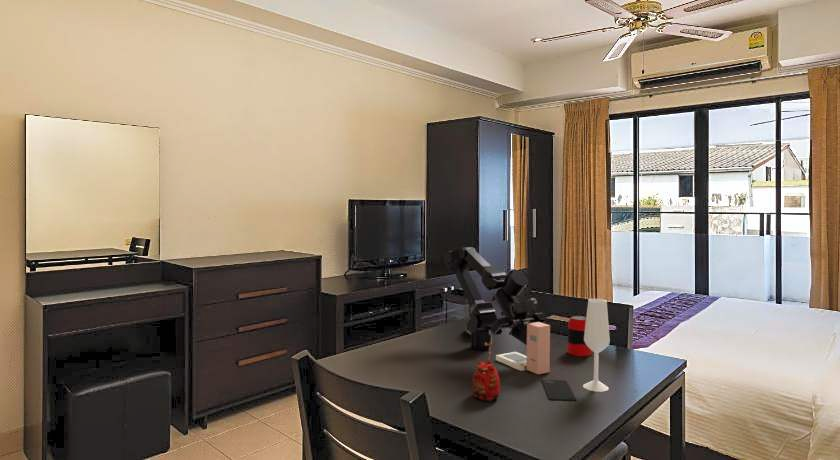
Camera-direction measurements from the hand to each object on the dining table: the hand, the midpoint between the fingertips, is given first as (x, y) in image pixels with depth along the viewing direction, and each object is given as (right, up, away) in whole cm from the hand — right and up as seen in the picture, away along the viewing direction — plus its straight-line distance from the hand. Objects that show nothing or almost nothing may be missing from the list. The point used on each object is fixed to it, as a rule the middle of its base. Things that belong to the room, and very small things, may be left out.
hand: (531, 347), depth 156 cm
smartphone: (+3, -8, -17) cm, 19 cm away
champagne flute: (+14, -8, -15) cm, 22 cm away
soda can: (+20, -6, +17) cm, 27 cm away
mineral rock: (-12, -5, +41) cm, 43 cm away
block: (+1, -7, -2) cm, 7 cm away
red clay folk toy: (-17, -8, -22) cm, 29 cm away
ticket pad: (-3, -6, +6) cm, 9 cm away
